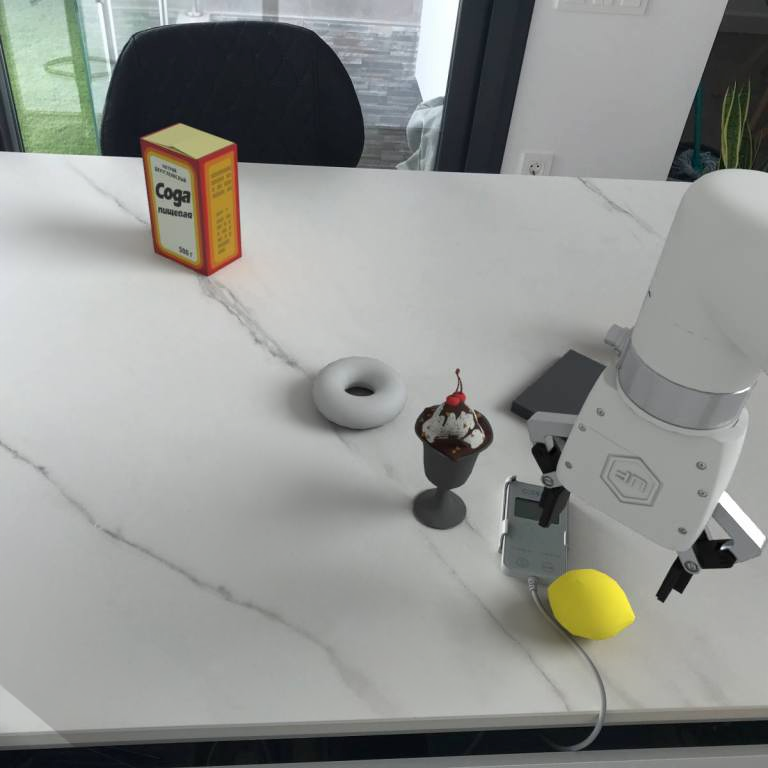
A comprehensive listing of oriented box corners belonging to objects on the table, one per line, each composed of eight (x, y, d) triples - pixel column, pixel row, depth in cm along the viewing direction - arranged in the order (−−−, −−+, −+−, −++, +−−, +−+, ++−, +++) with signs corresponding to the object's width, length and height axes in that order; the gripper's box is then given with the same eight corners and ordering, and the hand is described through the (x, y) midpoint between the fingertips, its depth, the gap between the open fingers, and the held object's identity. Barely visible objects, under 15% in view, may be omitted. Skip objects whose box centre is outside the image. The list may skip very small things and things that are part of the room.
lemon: (533, 634, 62) (547, 594, 59) (547, 583, 66) (561, 543, 63) (619, 667, 61) (639, 628, 57) (629, 613, 65) (648, 573, 61)
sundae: (440, 471, 76) (462, 349, 66) (489, 514, 72) (520, 391, 62) (389, 501, 72) (404, 377, 63) (437, 548, 68) (461, 423, 59)
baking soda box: (154, 252, 103) (139, 134, 93) (189, 233, 107) (178, 119, 97) (208, 276, 99) (198, 157, 89) (241, 256, 104) (236, 140, 93)
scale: (680, 413, 85) (689, 392, 83) (624, 481, 76) (633, 460, 75) (567, 358, 92) (573, 337, 90) (504, 415, 83) (510, 394, 81)
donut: (381, 449, 78) (420, 391, 85) (383, 424, 75) (423, 367, 82) (294, 416, 80) (338, 363, 87) (294, 391, 78) (339, 338, 85)
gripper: (530, 340, 48) (483, 518, 59) (811, 483, 41) (697, 656, 52) (586, 294, 53) (533, 466, 64) (847, 414, 46) (736, 586, 57)
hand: (607, 551), depth 58 cm, fingers open, 9 cm apart
